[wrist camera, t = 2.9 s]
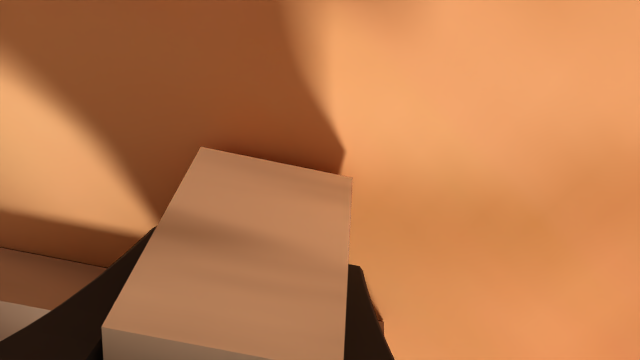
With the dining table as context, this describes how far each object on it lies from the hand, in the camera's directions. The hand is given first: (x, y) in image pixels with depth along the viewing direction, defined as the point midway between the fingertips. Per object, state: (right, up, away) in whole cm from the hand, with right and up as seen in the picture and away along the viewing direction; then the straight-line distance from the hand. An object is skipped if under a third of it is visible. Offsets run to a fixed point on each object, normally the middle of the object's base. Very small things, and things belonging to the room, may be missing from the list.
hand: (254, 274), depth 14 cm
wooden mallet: (-1, -2, +4) cm, 4 cm away
